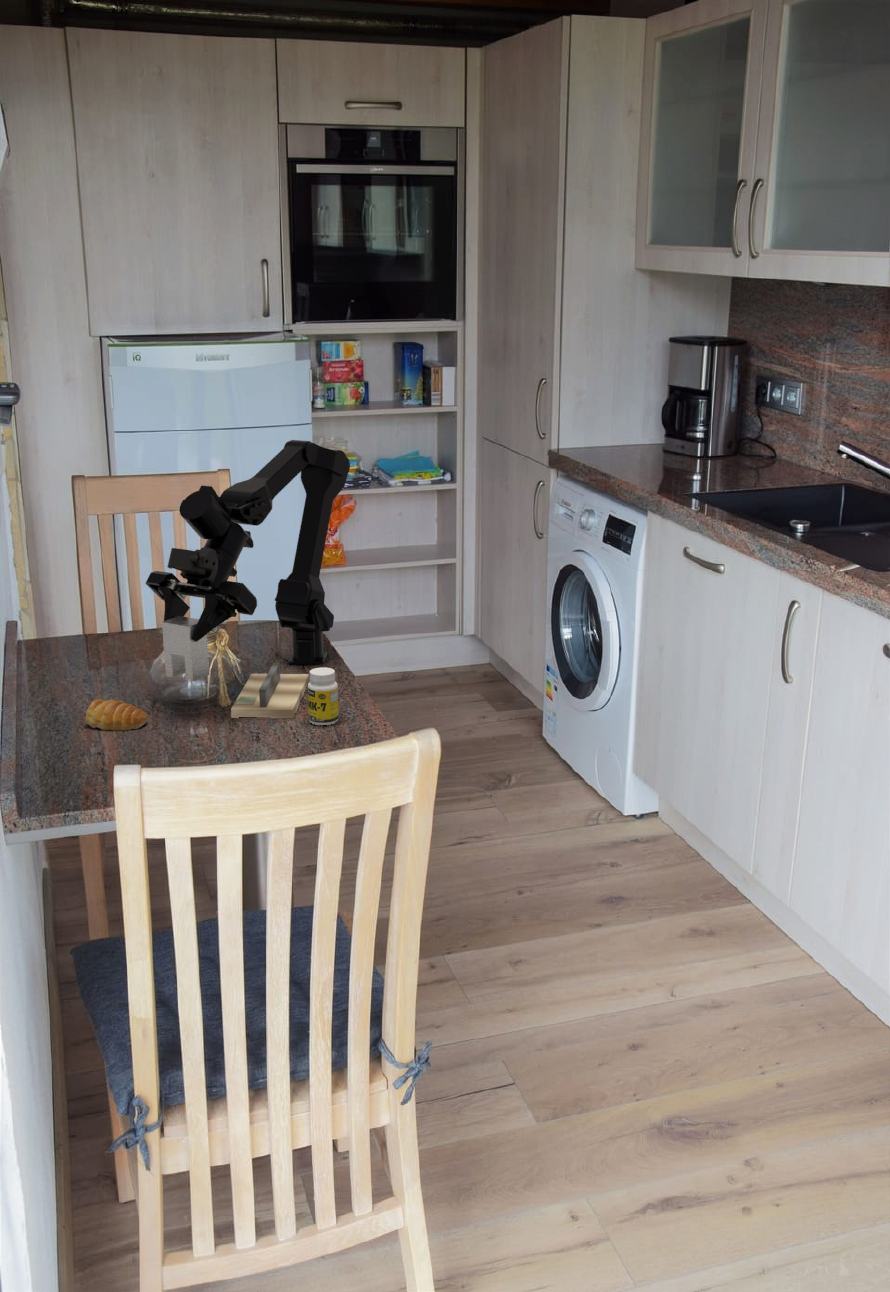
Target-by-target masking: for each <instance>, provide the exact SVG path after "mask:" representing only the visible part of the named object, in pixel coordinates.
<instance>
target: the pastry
mask: <svg viewBox="0 0 890 1292" xmlns="http://www.w3.org/2000/svg"><path fill="white" fill-rule="evenodd" d="M147 721H148V714H147V713H146V712H145V711H144V710H142V709H141V708H140V707H137V706H134V704H131V703H127V702H125V701H124V700H116V699H109V700H103V699H98V698H97V699H95V700H93V701H92V702H91V703H90V705H89V706H88V708H87V709H86V712H85V719H84V722H85V724H87V725H88V726H90V727H91V728H92V729H96V728H98V729H100V730H103V731H104V730H106V731H109V730H111V731H130V730H134V729H135V730H138V729H139V728H142V726H144V725H145V724H146V723H147Z"/></svg>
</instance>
